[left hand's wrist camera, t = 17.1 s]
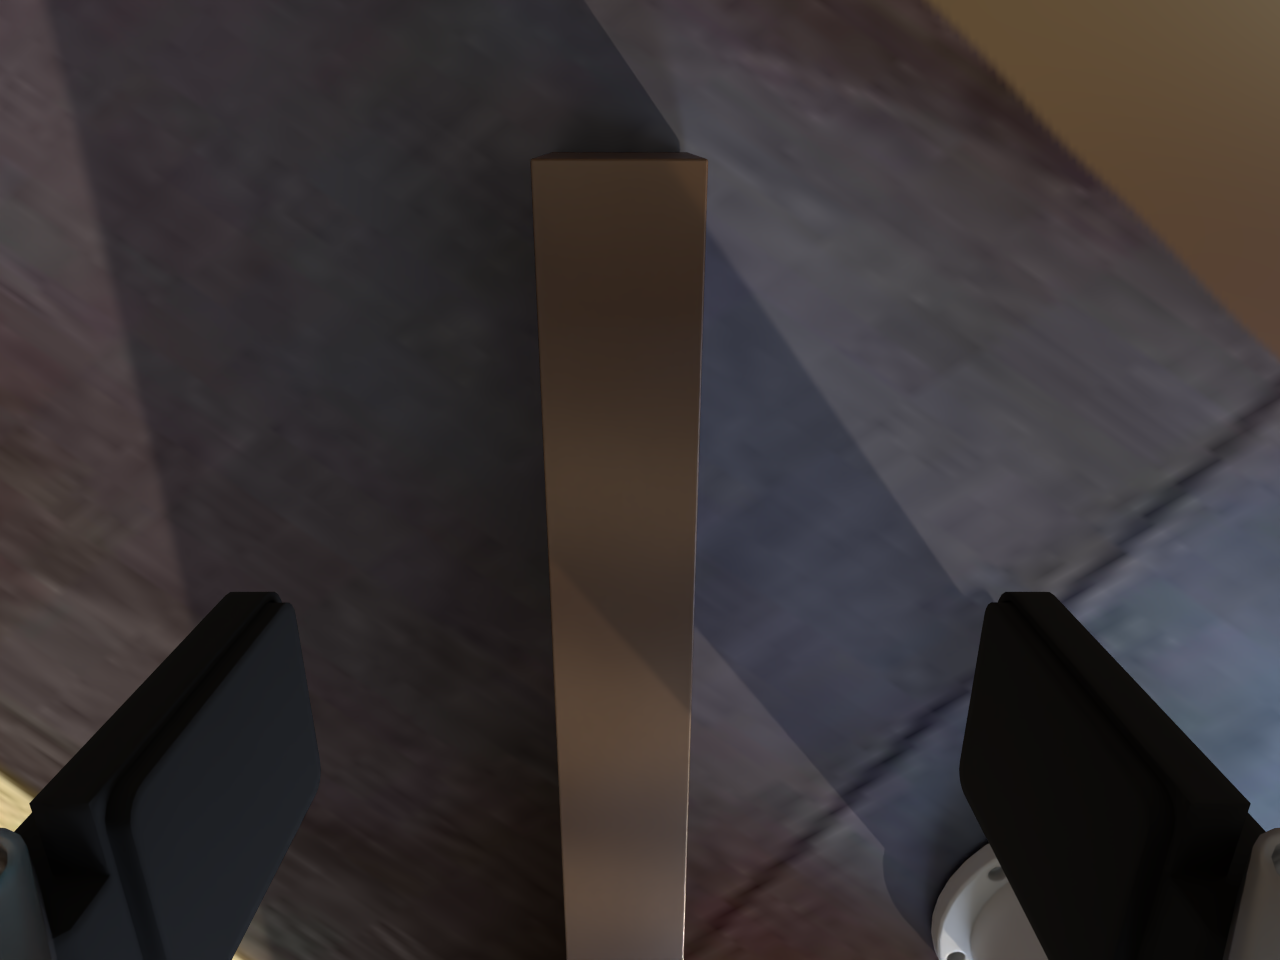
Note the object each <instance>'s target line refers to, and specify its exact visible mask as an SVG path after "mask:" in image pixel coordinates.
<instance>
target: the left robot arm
mask: <svg viewBox="0 0 1280 960" xmlns="http://www.w3.org/2000/svg"><path fill="white" fill-rule="evenodd" d="M320 774H321V767H320V759H319V753H318V747H317V741H316V735H315V729H314V723H313V717H312V711H311V705H310V699H309V693H308V687H307V681H306V675H305V669H304V663H303V657H302V651H301V645H300V639H299V633H298V627H297V621H296V615H295V611H294V608H293V606H292V604H290V603H282V601H281V599H280V597H279V595H278V594H277V593H275V592H230V593H229V594H227V595H226V596H225V597H224V598H223V599H222V600H221V601H220V602H219V603H218V604H217V605H216V606H215V607H214V608H213V609H212V611H211V612H210V613H209V614H208V615H207V616H206V617H205V618H204V619H203V620H202V621H201V622H200V623H199V624H198V625H197V626H196V627H195V629H194V630H193V631H192V632H191V633H190V634H189V635H188V636H187V637H186V638H185V639H184V640H183V641H182V642H181V643H180V644H179V645H178V647H177V648H176V649H175V650H174V651H173V652H172V653H171V654H170V655H169V656H168V657H167V658H166V659H165V660H164V661H163V662H162V663H161V665H160V666H159V667H158V668H157V669H156V670H155V671H154V672H153V673H152V674H151V675H150V676H149V677H148V678H147V679H146V680H145V682H144V683H143V684H142V685H141V686H140V687H139V688H138V689H137V690H136V691H135V692H134V693H133V694H132V695H131V696H130V697H129V698H128V700H127V701H126V702H125V703H124V704H123V705H122V706H121V707H120V708H119V709H118V710H117V711H116V712H115V713H114V714H113V715H112V716H111V718H110V719H109V720H108V721H107V722H106V723H105V724H104V725H103V726H102V727H101V728H100V729H99V730H98V731H97V732H96V733H95V734H94V736H93V737H92V738H91V739H90V740H89V741H88V742H87V743H86V744H85V745H84V746H83V747H82V748H81V749H80V750H79V751H78V752H77V754H76V755H75V756H74V757H73V758H72V759H71V760H70V761H69V762H68V763H67V764H66V765H65V766H64V767H63V768H62V769H61V770H60V772H59V773H58V774H57V775H56V776H55V777H54V778H53V779H52V780H51V781H50V782H49V783H48V784H47V785H46V786H45V787H44V789H43V790H42V791H41V792H40V793H39V794H38V795H37V796H36V797H35V798H34V799H33V800H32V801H31V802H30V803H29V804H30V807H31V810H32V813H31V814H30V815H29V816H28V818H27V819H26V820H25V821H24V822H23V823H22V824H21V825H20V826H19V827H18V828H17V829H16V830H15V832H13V831H10V830H8V829H6V828H0V960H232V958H233V956H234V954H235V952H236V950H237V948H238V946H239V944H240V942H241V940H242V938H243V936H244V935H245V933H246V931H247V929H248V927H249V925H250V923H251V921H252V919H253V917H254V915H255V913H256V911H257V909H258V907H259V905H260V903H261V901H262V899H263V897H264V895H265V893H266V891H267V889H268V887H269V885H270V883H271V881H272V879H273V877H274V876H275V874H276V872H277V870H278V868H279V866H280V864H281V862H282V860H283V858H284V856H285V854H286V852H287V850H288V848H289V846H290V844H291V842H292V840H293V838H294V836H295V834H296V832H297V830H298V828H299V826H300V824H301V822H302V820H303V818H304V816H305V815H306V813H307V811H308V809H309V807H310V805H311V803H312V801H313V799H314V797H315V795H316V792H317V790H318V786H319V782H320ZM959 774H960V782H961V786H962V790H963V792H964V795H965V797H966V799H967V801H968V803H969V805H970V807H971V809H972V811H973V813H974V815H975V816H976V818H977V820H978V822H979V824H980V826H981V828H982V830H983V832H984V834H985V836H986V838H987V840H988V842H989V843H988V844H987V845H985V846H984V847H982V848H981V849H980V850H978V851H977V852H976V853H975V854H973V855H972V856H971V857H970V858H968V859H967V860H966V861H965V862H964V863H963V864H962V865H961V866H960V867H959V869H958V870H957V871H956V872H955V873H954V874H953V875H952V876H951V877H950V879H949V880H948V882H947V884H946V885H945V887H944V889H943V890H942V892H941V893H940V895H939V897H938V900H937V903H936V906H935V909H934V912H933V915H932V927H931V935H932V940H933V945H934V950H935V952H936V955H937V957H938V960H1280V828H1274V829H1272V830H1270V831H1267V832H1265V830H1264V829H1263V828H1262V827H1261V826H1260V825H1259V824H1258V823H1257V822H1256V821H1255V820H1254V819H1253V818H1252V816H1251V815H1250V814H1249V813H1248V810H1249V807H1250V804H1251V803H1250V802H1249V801H1248V800H1247V799H1246V798H1245V797H1244V796H1243V795H1242V794H1241V793H1240V792H1239V791H1238V790H1237V789H1236V787H1235V786H1234V785H1233V784H1232V783H1231V782H1230V781H1229V780H1228V779H1227V778H1226V777H1225V776H1224V775H1223V774H1222V773H1221V772H1220V770H1219V769H1218V768H1217V767H1216V766H1215V765H1214V764H1213V763H1212V762H1211V761H1210V760H1209V759H1208V758H1207V757H1206V756H1205V755H1204V754H1203V752H1202V751H1201V750H1200V749H1199V748H1198V747H1197V746H1196V745H1195V744H1194V743H1193V742H1192V741H1191V740H1190V739H1189V738H1188V737H1187V736H1186V734H1185V733H1184V732H1183V731H1182V730H1181V729H1180V728H1179V727H1178V726H1177V725H1176V724H1175V723H1174V722H1173V721H1172V720H1171V719H1170V718H1169V716H1168V715H1167V714H1166V713H1165V712H1164V711H1163V710H1162V709H1161V708H1160V707H1159V706H1158V705H1157V704H1156V703H1155V702H1154V701H1153V700H1152V698H1151V697H1150V696H1149V695H1148V694H1147V693H1146V692H1145V691H1144V690H1143V689H1142V688H1141V687H1140V686H1139V685H1138V684H1137V683H1136V682H1135V680H1134V679H1133V678H1132V677H1131V676H1130V675H1129V674H1128V673H1127V672H1126V671H1125V670H1124V669H1123V668H1122V667H1121V666H1120V665H1119V663H1118V662H1117V661H1116V660H1115V659H1114V658H1113V657H1112V656H1111V655H1110V654H1109V653H1108V652H1107V651H1106V650H1105V649H1104V648H1103V647H1102V645H1101V644H1100V643H1099V642H1098V641H1097V640H1096V639H1095V638H1094V637H1093V636H1092V635H1091V634H1090V633H1089V632H1088V631H1087V630H1086V629H1085V627H1084V626H1083V625H1082V624H1081V623H1080V622H1079V621H1078V620H1077V619H1076V618H1075V617H1074V616H1073V615H1072V614H1071V613H1070V612H1069V611H1068V609H1067V608H1066V607H1065V606H1064V605H1063V604H1062V603H1061V602H1060V601H1059V600H1058V599H1057V598H1056V597H1055V596H1054V595H1053V594H1051V593H1050V592H1005V593H1003V594H1002V595H1001V597H1000V599H999V601H998V603H990V604H988V606H987V608H986V611H985V615H984V621H983V627H982V633H981V639H980V645H979V651H978V657H977V663H976V669H975V675H974V681H973V687H972V693H971V699H970V705H969V711H968V717H967V723H966V729H965V735H964V741H963V747H962V753H961V759H960V767H959Z"/></svg>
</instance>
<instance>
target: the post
mask: <svg viewBox="0 0 1280 960" xmlns="http://www.w3.org/2000/svg"><path fill="white" fill-rule="evenodd" d="M530 163H531V185H532V207H533V229H534V251H535V273H536V296H537V318H538V340H539V362H540V384H541V406H542V429H543V451H544V473H545V495H546V517H547V539H548V562H549V584H550V606H551V628H552V650H553V672H554V694H555V717H556V739H557V761H558V783H559V805H560V827H561V850H562V872H563V894H564V916H565V938H566V960H684V933H685V900H686V867H687V834H688V801H689V769H690V736H691V703H692V670H693V637H694V604H695V571H696V538H697V505H698V473H699V440H700V407H701V374H702V341H703V308H704V275H705V242H706V209H707V177H708V160H707V159H705V158H702V157H699V156H696V155H693V154H690V153H687V152H552V153H549V154H545V155H542V156H539V157H536V158H533V159H531V161H530Z"/></svg>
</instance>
